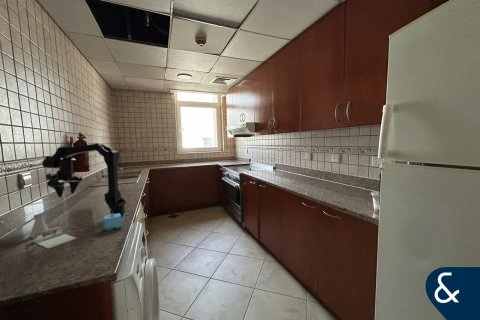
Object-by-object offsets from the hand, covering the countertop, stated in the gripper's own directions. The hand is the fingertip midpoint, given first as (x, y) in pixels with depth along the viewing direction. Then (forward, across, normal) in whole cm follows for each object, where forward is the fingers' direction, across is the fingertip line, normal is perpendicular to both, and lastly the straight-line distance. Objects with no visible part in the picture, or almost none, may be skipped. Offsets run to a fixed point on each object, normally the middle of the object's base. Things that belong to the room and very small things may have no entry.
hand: (66, 195), depth 117 cm
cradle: (+14, +25, +10) cm, 30 cm away
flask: (+14, +20, +2) cm, 25 cm away
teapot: (+12, +17, +36) cm, 41 cm away
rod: (+12, +25, +10) cm, 29 cm away
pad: (+13, +29, +17) cm, 36 cm away
